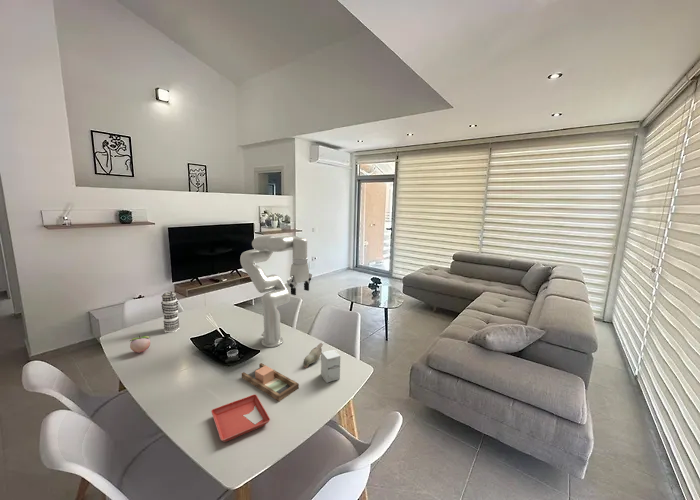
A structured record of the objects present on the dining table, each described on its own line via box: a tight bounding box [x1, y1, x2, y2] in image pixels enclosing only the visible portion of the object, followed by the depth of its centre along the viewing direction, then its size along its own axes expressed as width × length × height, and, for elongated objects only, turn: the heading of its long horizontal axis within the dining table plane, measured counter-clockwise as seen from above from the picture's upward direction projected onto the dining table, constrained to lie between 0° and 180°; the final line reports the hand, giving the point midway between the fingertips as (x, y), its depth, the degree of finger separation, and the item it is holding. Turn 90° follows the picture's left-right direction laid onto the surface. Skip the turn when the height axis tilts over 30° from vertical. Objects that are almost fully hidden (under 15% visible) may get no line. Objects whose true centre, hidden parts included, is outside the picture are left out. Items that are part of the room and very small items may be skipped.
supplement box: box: [320, 349, 341, 384], centre depth 145 cm, size 7×7×13 cm
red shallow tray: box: [210, 393, 271, 443], centre depth 116 cm, size 18×18×3 cm
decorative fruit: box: [129, 335, 151, 353], centre depth 163 cm, size 9×8×10 cm
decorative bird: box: [303, 342, 324, 369], centre depth 159 cm, size 5×16×8 cm, turn 152°
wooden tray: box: [241, 362, 300, 402], centre depth 139 cm, size 27×11×3 cm, turn 54°
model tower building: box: [160, 291, 180, 333], centre depth 190 cm, size 9×9×25 cm
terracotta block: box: [254, 365, 275, 385], centre depth 141 cm, size 6×6×5 cm
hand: (300, 292), depth 159 cm, fingers open, 9 cm apart
